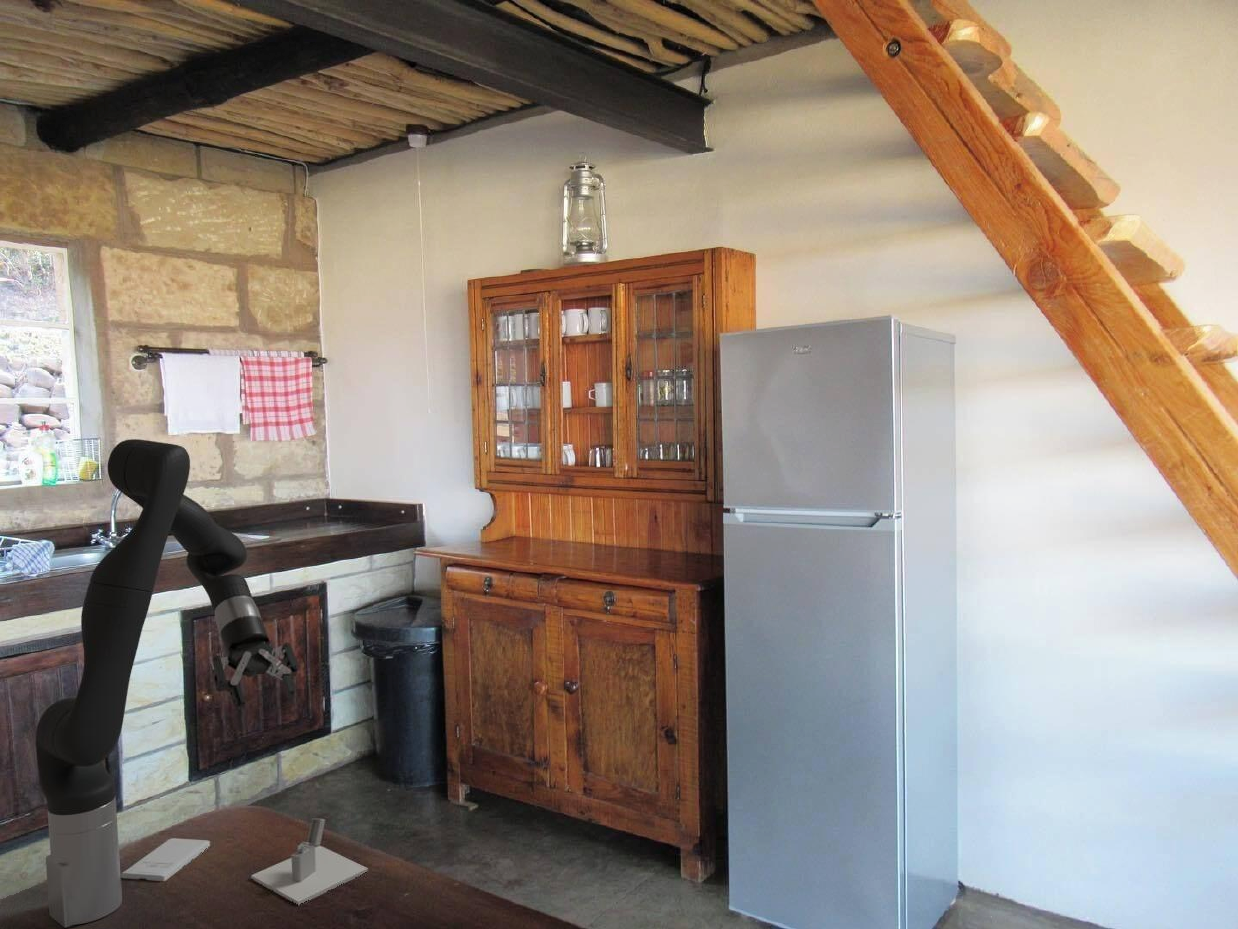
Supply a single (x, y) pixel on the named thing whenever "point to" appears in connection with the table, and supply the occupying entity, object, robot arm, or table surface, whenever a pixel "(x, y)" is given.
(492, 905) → the table surface
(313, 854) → the lighter
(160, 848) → the external hard drive
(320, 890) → the mat
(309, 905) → the table surface
